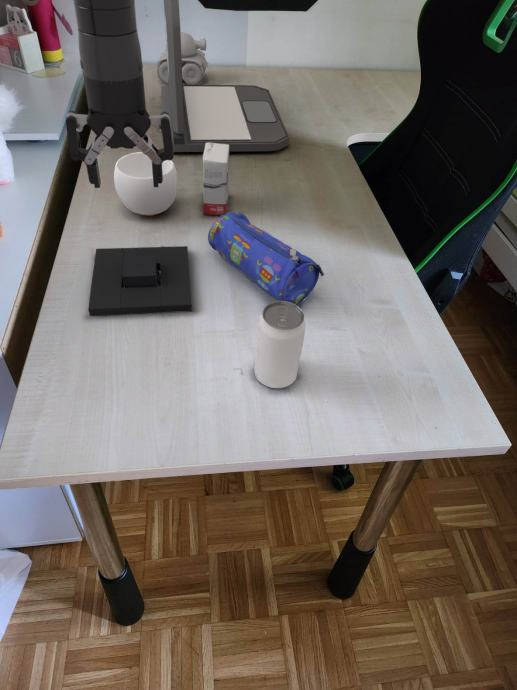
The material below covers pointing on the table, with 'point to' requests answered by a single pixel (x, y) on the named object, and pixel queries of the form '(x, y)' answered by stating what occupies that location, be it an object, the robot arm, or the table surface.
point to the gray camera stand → (216, 106)
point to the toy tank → (186, 61)
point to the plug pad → (139, 271)
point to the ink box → (215, 178)
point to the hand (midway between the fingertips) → (127, 185)
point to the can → (279, 344)
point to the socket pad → (119, 300)
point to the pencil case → (264, 258)
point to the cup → (144, 184)
